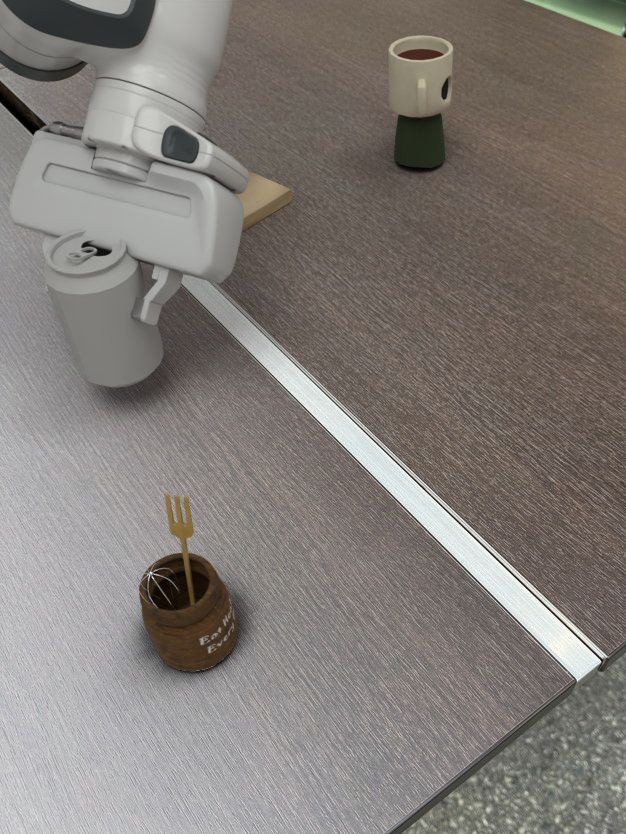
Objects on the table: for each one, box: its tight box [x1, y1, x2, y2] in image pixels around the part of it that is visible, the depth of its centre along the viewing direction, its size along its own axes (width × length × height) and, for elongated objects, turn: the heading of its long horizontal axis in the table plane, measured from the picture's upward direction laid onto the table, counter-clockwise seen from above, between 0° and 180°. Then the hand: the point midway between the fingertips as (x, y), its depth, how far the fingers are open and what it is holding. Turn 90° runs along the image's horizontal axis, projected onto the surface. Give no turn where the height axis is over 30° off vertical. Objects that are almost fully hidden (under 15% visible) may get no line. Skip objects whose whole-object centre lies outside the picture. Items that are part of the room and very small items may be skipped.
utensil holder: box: [136, 493, 239, 671], centre depth 55 cm, size 6×6×12 cm
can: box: [42, 229, 164, 388], centre depth 70 cm, size 8×8×12 cm
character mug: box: [387, 35, 454, 169], centre depth 97 cm, size 11×7×13 cm, turn 0°
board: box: [235, 170, 293, 233], centre depth 96 cm, size 16×16×2 cm
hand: (100, 309), depth 69 cm, fingers closed on can, 7 cm apart
